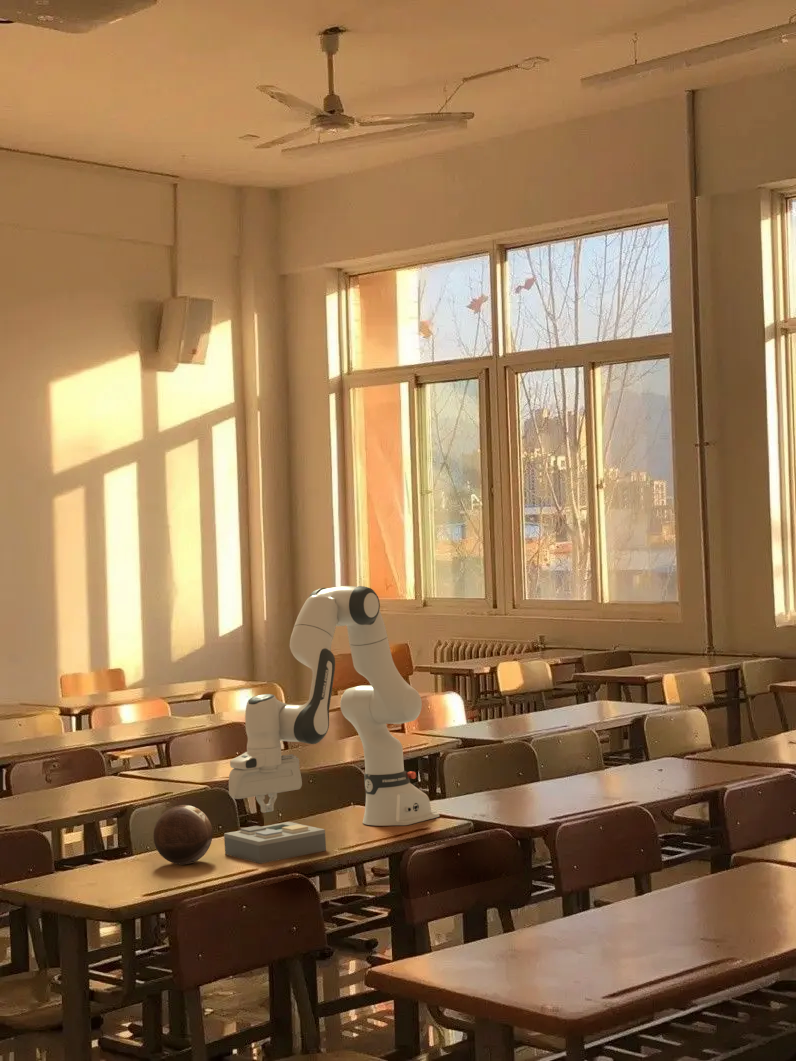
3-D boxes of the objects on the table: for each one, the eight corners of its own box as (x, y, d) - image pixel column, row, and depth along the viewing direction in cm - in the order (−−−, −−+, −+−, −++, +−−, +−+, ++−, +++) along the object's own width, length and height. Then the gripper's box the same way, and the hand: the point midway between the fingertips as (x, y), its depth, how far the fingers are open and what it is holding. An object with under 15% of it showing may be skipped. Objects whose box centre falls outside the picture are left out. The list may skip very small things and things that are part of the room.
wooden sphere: (210, 868, 377) (207, 808, 378) (150, 871, 377) (147, 812, 378) (217, 856, 392) (213, 798, 393) (160, 859, 392) (156, 802, 393)
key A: (272, 840, 391) (272, 829, 391) (282, 843, 387) (282, 831, 387) (256, 843, 388) (255, 832, 388) (266, 846, 384) (265, 834, 384)
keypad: (289, 841, 406) (288, 821, 406) (326, 850, 391) (324, 829, 391) (225, 854, 394) (224, 833, 394) (260, 863, 380) (258, 841, 380)
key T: (298, 835, 395) (298, 824, 395) (308, 838, 391) (308, 826, 391) (282, 838, 392) (281, 827, 392) (292, 841, 388) (292, 829, 388)
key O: (257, 836, 397) (256, 825, 397) (266, 839, 393) (266, 827, 393) (240, 840, 394) (240, 828, 394) (250, 842, 390) (249, 830, 390)
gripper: (292, 752, 396) (295, 804, 396) (224, 761, 384) (227, 816, 384) (304, 754, 391) (307, 807, 391) (236, 763, 379) (239, 818, 379)
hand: (267, 811), depth 387 cm, fingers closed
